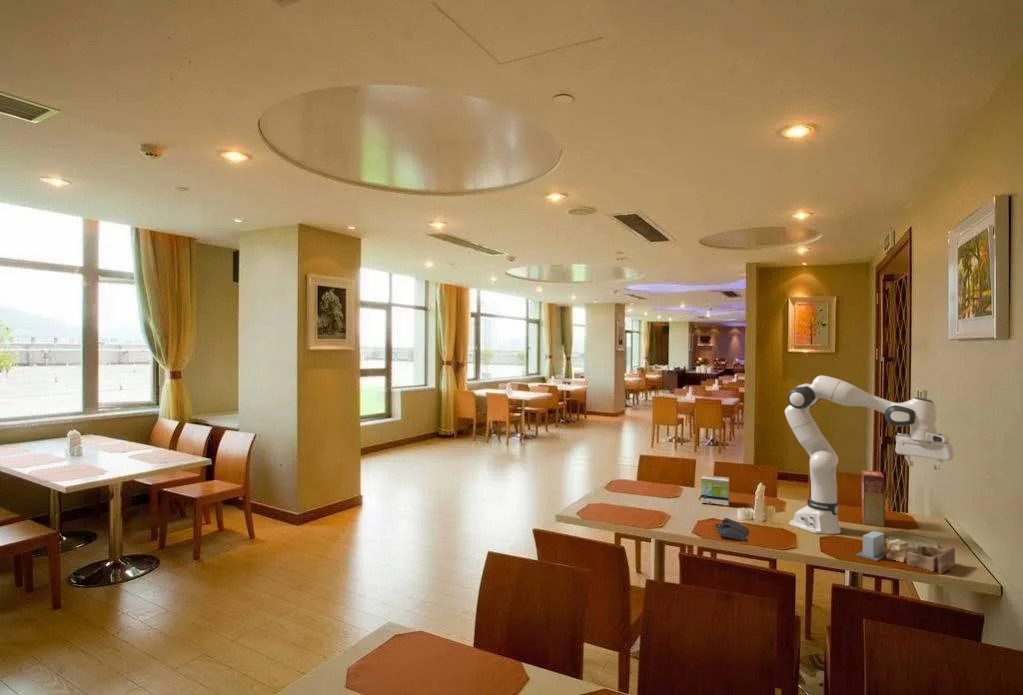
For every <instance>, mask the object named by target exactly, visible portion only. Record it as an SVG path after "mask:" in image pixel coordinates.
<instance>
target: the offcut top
mask: <svg viewBox="0 0 1023 695" xmlns="http://www.w3.org/2000/svg"><path fill="white" fill-rule="evenodd" d="M889 547H890V548H893V549H896V550H903V549H907V548H908V542H905V541H902V540H899V539H897V540H892V541H889Z"/></svg>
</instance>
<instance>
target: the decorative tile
mask: <svg viewBox="0 0 1023 695" xmlns="http://www.w3.org/2000/svg"><path fill="white" fill-rule="evenodd" d="M897 539H899V540H902V541H905V542H908V548H907V549H906V552H908V551H910V550H913V551H915V553H916V554H917V547H918V546H919V545H921V544H922V545H926V546H930V547H934V548H938V549H939V546H938V543H937V542H936V540H935V539H933V538H928V537H924V536H919V535H913V534H905V533H900V532H891V534H890V535H888V537H887V538H886V539H885V542H886V546H887V550H888V549H890V550H889V551H891V548H890V547H889V541H892V540H897Z"/></svg>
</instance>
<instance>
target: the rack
mask: <svg viewBox="0 0 1023 695" xmlns="http://www.w3.org/2000/svg"><path fill="white" fill-rule="evenodd" d="M907 564H908V566H910V565H912V566H911V567H914V566H917V567H919V568H918V569H921V568H923V569H922V570H925V569H927V570H926V571H928V570H930V571H929V572H932V571H934V572H935V570H936V569H937V570H936V571H937V574H940V575H942V574H944V573H945V572H947V571H948V570H950V569H951V568H952V567H954V566H955V565H956V548H955V547H953V546H951V547H949V548H948V549H942V548H939V547H938V548H934V547H930V546H926V545H922V544H921V545H919V546H918V547H917V554H916V553H915V551H913V550H910V551H908V552H907V560H906V565H907ZM917 567H916V568H917Z"/></svg>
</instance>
